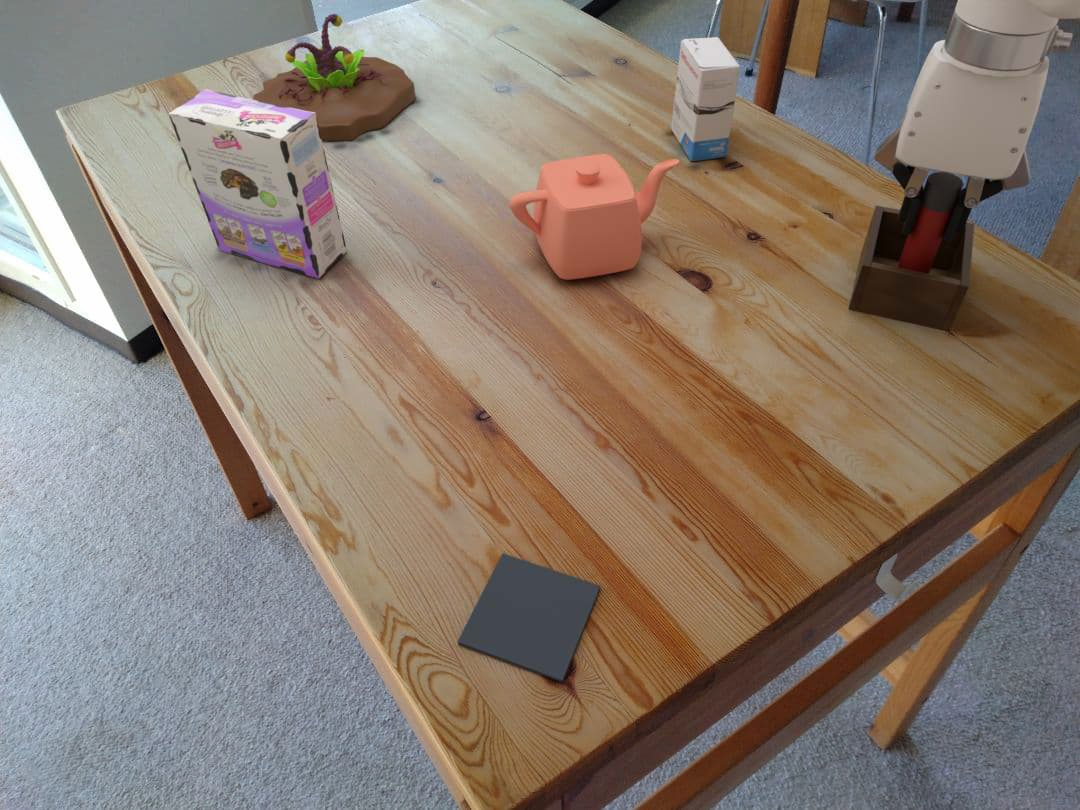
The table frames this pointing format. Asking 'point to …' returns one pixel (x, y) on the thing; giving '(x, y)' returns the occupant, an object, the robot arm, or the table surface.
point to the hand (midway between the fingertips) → (927, 230)
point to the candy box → (262, 180)
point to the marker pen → (930, 221)
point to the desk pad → (530, 617)
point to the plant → (340, 88)
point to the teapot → (589, 214)
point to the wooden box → (911, 276)
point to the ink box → (704, 98)
